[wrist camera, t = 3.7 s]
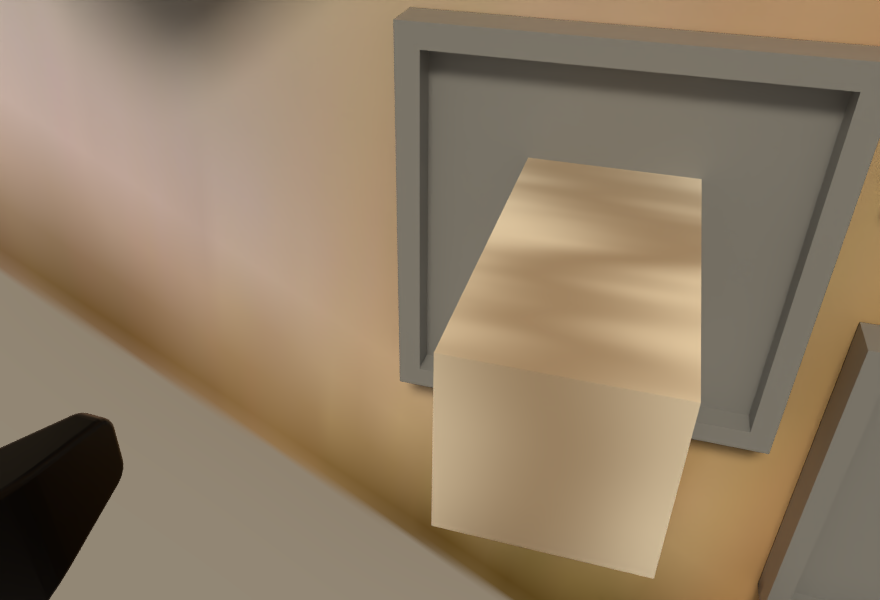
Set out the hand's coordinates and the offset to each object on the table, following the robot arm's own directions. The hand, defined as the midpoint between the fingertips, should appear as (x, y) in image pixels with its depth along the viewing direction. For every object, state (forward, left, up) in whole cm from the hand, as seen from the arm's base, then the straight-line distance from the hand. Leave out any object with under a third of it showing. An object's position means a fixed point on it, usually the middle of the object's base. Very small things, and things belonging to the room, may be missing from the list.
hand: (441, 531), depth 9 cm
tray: (-1, +2, -12) cm, 12 cm away
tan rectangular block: (-1, +2, -11) cm, 12 cm away
